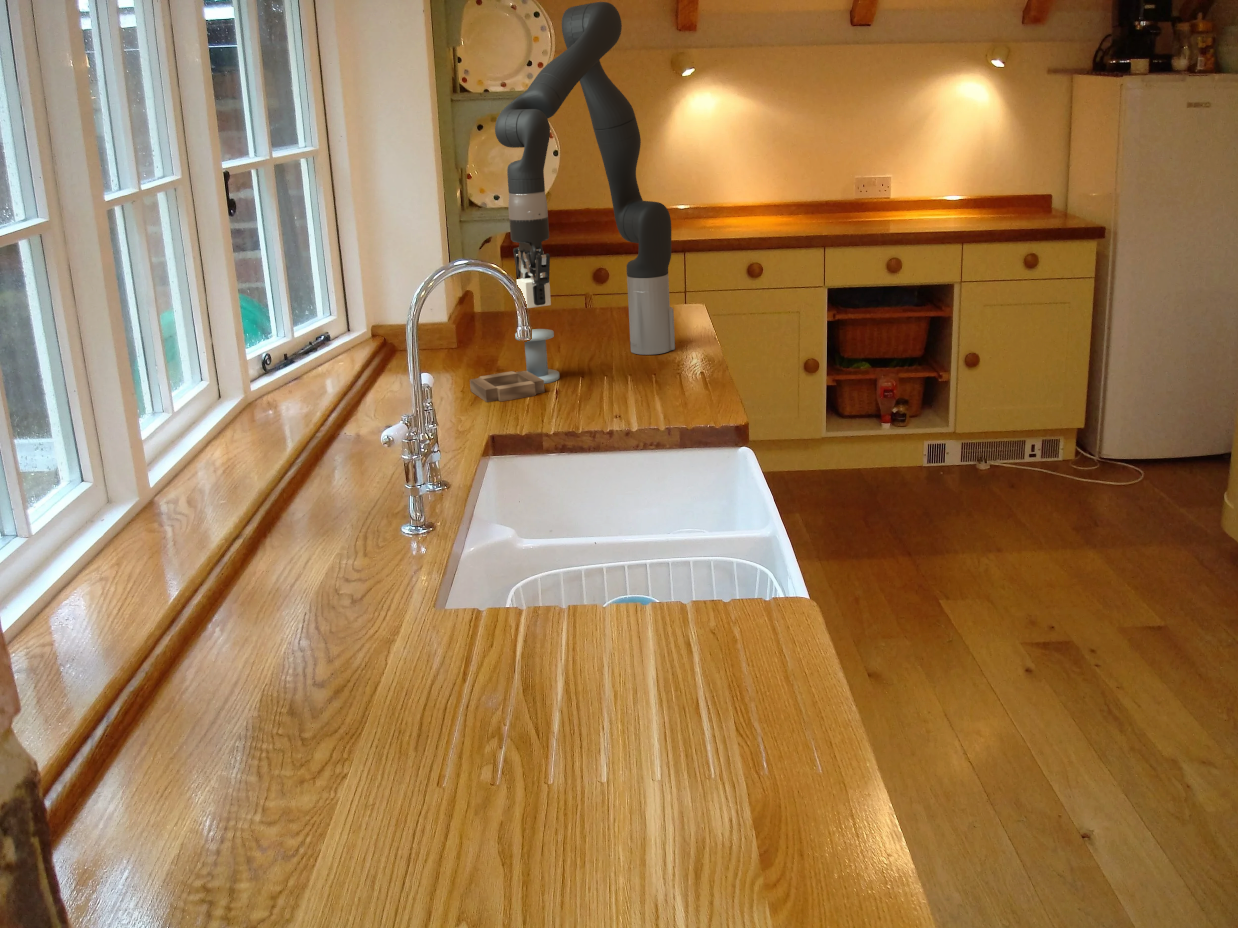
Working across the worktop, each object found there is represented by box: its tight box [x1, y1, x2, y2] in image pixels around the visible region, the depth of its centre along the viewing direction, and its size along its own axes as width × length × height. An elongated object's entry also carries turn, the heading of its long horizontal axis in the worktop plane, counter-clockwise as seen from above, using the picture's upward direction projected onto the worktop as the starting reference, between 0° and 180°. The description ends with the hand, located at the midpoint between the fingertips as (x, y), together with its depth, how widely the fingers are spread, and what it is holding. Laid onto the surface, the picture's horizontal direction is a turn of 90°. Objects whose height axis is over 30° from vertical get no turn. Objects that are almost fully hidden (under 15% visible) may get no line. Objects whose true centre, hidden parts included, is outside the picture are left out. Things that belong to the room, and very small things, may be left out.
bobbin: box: [514, 328, 560, 385], centre depth 253 cm, size 9×9×10 cm
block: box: [515, 277, 552, 309], centre depth 241 cm, size 5×5×5 cm
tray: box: [469, 370, 545, 403], centre depth 246 cm, size 12×12×2 cm
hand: (534, 302), depth 242 cm, fingers closed on block, 5 cm apart
